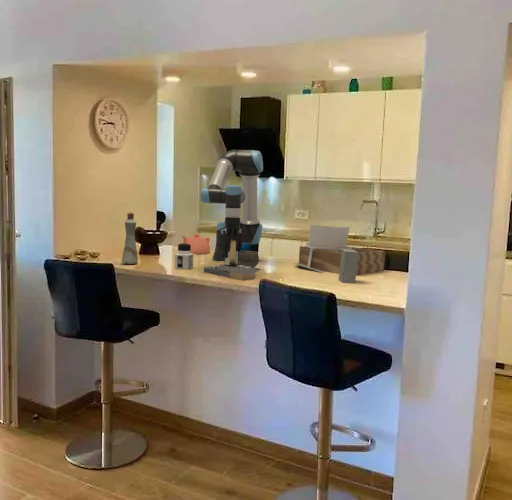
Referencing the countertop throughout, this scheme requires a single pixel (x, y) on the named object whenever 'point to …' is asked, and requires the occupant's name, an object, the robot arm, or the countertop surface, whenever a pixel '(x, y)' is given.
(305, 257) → the holder caddy
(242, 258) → the bowl
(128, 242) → the bottle
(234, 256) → the pin
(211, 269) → the chain end
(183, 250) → the container
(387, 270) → the countertop surface
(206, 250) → the teapot
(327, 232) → the white panel on stand
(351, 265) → the skincare box
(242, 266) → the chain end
